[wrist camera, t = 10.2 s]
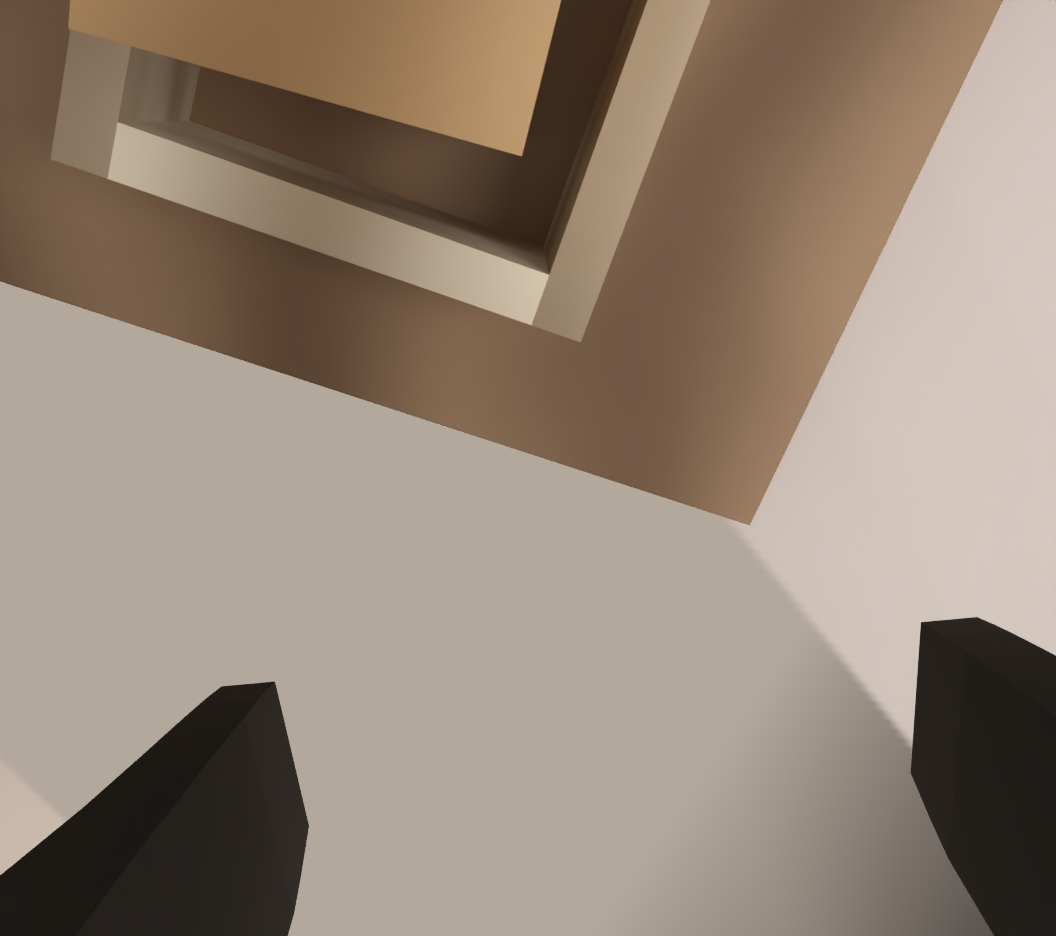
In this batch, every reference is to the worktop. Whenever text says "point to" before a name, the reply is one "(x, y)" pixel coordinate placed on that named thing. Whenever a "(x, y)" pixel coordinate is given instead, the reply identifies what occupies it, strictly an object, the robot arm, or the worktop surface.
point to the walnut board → (506, 222)
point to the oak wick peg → (360, 53)
